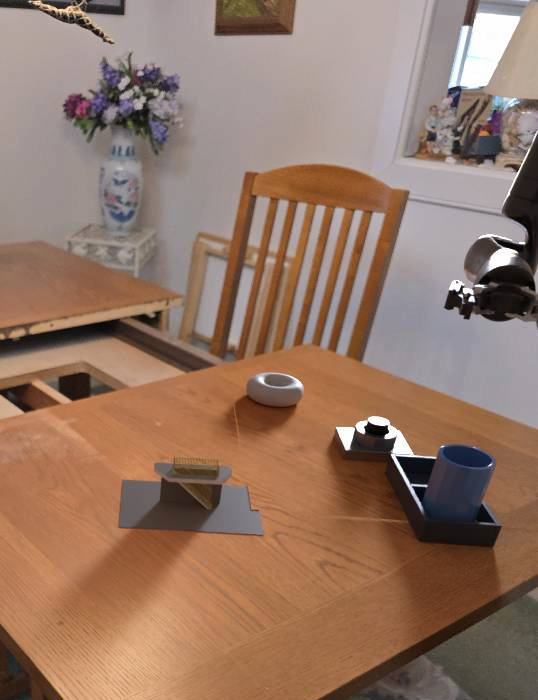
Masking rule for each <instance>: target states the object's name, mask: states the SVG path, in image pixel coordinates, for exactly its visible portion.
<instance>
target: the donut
mask: <svg viewBox="0 0 538 700" xmlns="http://www.w3.org/2000/svg"><path fill="white" fill-rule="evenodd" d="M245 387H246V389H245V390H246V394H247V396H248V397H249V398H250V399H251V400H253V401H254V402H255V403H258V404H260V405H264V406H268V407H274V408H275V407H276V408H283V407H284V408H285V407H286V408H287V407H292V406H294V405H296V404H298V403H300V401H301V400H302V399H303V398H304V395H305V389H304V384H302V382H301V381H299V379H297V378H295V377H294V376H291V375H289V374H285V373H281V372H262V373H261V372H260V373H257V374H255V375H252V376H251V377H250V378H249V379H248V381H246V386H245Z"/></svg>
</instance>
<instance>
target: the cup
mask: <svg viewBox="0 0 538 700" xmlns="http://www.w3.org/2000/svg"><path fill="white" fill-rule="evenodd" d="M435 457H436V460H435V463H434V466H433V469H432V472H431V475H430V479H429V482H428V485H427V488H426V491H425V494H424V497H423V500H422V503H421V505H422V506H423V508H424V510H425V512H426V514H427V516H428V517H429V519H438V520H453V521H468V522H475V519H476V517H477V514H478V511H479V509H480V506H481V503H482V501H483V500H484V498H485V496H486V492H487V490H488V487H489V485H490V482H491V479H492V477H493V474H494V472H495V469H496V466H497V459H496V458H495V457H494V455H492V454H491V453H490V452H487V451H485V450H483V449H482V448H481V449H480V448H478V447H476V446H472V445H466V444H460V443H450V444H444V445H442V446H441V447H439V448H438V451H437V454H436V456H435Z"/></svg>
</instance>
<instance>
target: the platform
mask: <svg viewBox="0 0 538 700" xmlns="http://www.w3.org/2000/svg"><path fill="white" fill-rule="evenodd" d="M153 472H154V474H156V475H158V476H159V477H161V478H160V481H157V480H140V479H139V480H138V479H122V487H121V497H120V498H121V499H120V510H119V521H118V527H119V528H128V529H145V530H146V529H148V530H165V531H166V530H167V531H182V532H183V531H187V532H203V533H204V532H205V533H219V534H220V533H222V534H242V535H261V536H265V532H264V527H263V522H262V519H261V514H260V510H259V509H252V507H251V500H250V494H249V493H250V492H249V486H247V485H234V484H232V485H231V484H226V483H227V482H228V481H229V479H230V478H231V477H232V476H233V469H232V467H231V466H227V465H221V463H220V459H219V458H203V457H187V456H185V457H184V456H173V462H172V463H171V462H155V463H154V464H153Z"/></svg>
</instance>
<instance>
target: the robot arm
mask: <svg viewBox="0 0 538 700" xmlns="http://www.w3.org/2000/svg"><path fill="white" fill-rule="evenodd" d="M502 204H503V205H502V207H501V215H502V217H503V218H504V219H506V220H508V221H509V222H511V223H513V224H515V225H517V226H518V227H519V228H521V229H522V230H523V232H524V240H523V242H520V241H517V240H513V239H510V238H506V237H503V236H498V235H495V234H486V235H482V236H480V237H479V238H478V239H476V240H474V242H473V243H472V244H471V246H470V247H469V248H468V250H467V252H466V254H465V258H464V262H463V273H464V276H465V279H466V281H468V283H470V284H471V285H472V288H467V287H466V284H464V283H463V282H462V281H460V280H458V279H457V280H452V282H451V284H450V287H449V289H448V292H447V295H446V298H445V301H444V306H443V309H445V310H446V311H453V310H454V309H455V308H456V309H458V310H457V312H458V315H459V316H463V320H468V321H470V319H471V316H472V315H475V316H478V315H480V316H481V317H483V318H484V319H486V320H487V321H490V322H495V323H503V322H508V321H512V320H514V319H518V320H520V321H522V322H525V323H531V322H532V323H534V322H535V325H536V329H537V331H538V292H537V286H536V282H535V278H534V277H535V276H536V273H537V269H538V130H537V131H536V133H535V136H534V138H533V140H532V143H531V145H530V147H529V149H528V151H527V153H526V156H525V157H524V159H523V162H522V163H521V166H520V168H519V170H518V172H517V175H516V176H515V178H514V180H513V183H512V185H511V187H510V189H509V191H508V194H507V196H506V198H505V200H504V202H503V203H502Z"/></svg>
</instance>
